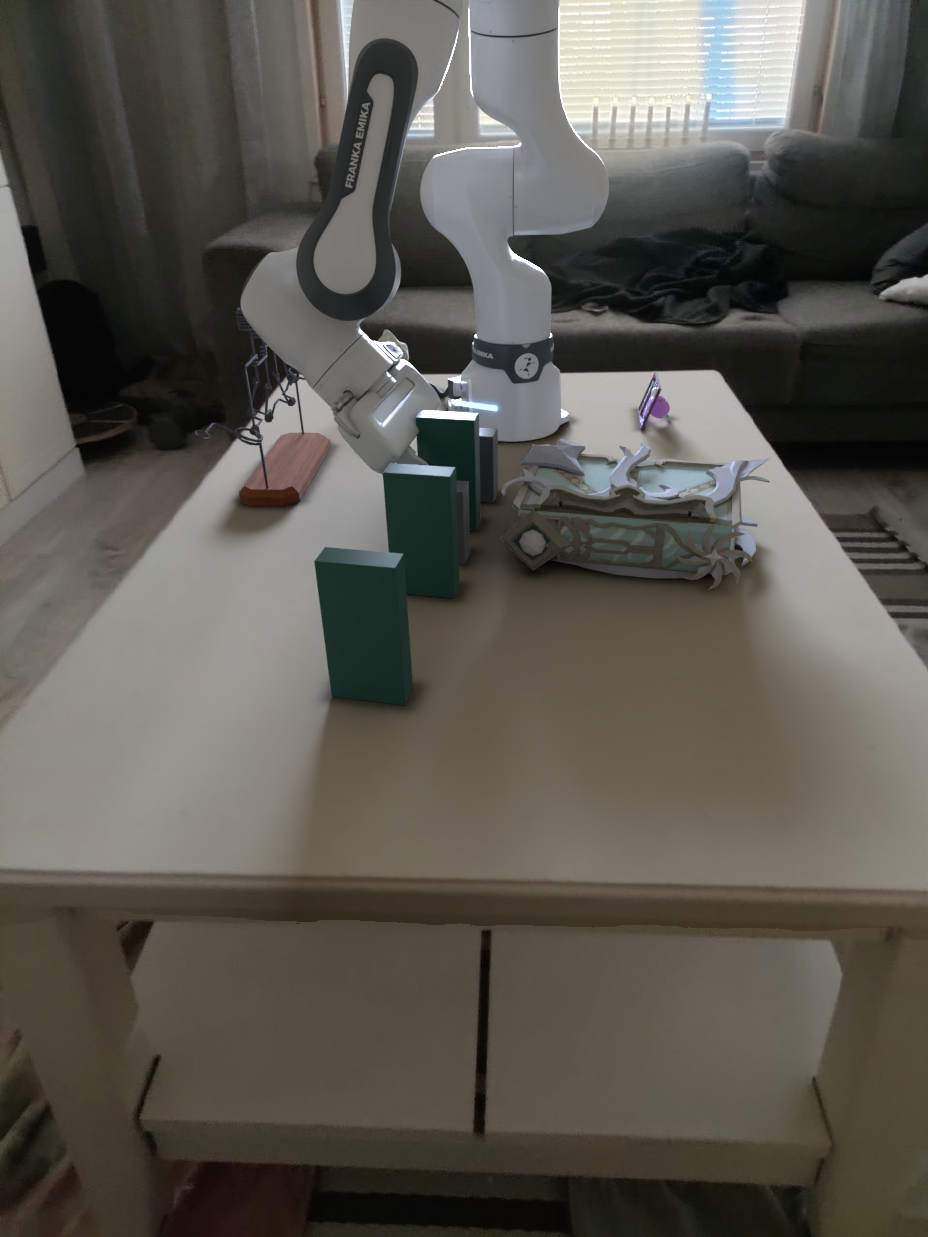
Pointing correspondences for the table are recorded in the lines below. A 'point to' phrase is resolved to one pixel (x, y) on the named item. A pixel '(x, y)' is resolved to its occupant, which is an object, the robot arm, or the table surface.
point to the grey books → (487, 488)
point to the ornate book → (631, 513)
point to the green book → (453, 449)
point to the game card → (653, 402)
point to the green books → (389, 585)
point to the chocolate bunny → (389, 337)
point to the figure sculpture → (290, 455)
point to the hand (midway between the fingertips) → (442, 464)
